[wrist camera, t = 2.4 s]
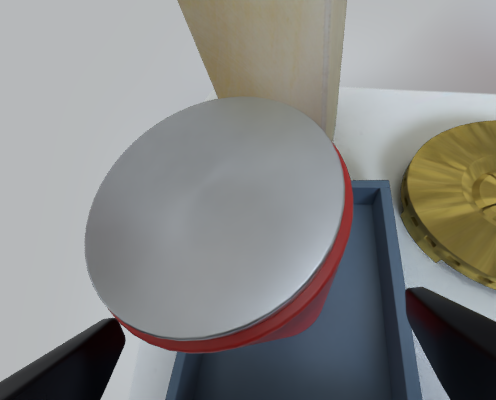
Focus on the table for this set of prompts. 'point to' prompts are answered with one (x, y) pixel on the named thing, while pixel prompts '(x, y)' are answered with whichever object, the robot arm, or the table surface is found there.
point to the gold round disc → (455, 200)
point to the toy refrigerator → (273, 51)
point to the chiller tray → (328, 331)
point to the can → (221, 226)
